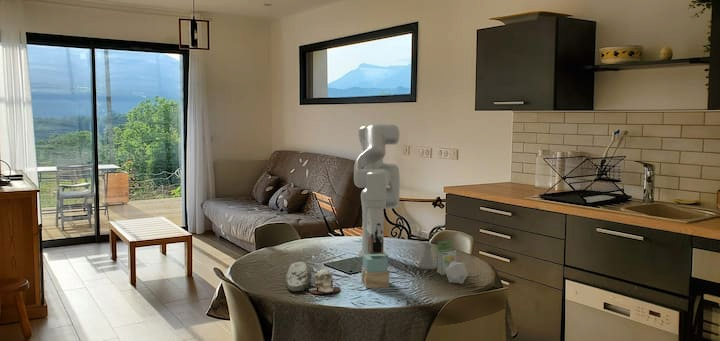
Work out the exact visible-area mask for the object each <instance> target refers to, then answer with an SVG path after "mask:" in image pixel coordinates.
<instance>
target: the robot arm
mask: <svg viewBox="0 0 720 341" xmlns="http://www.w3.org/2000/svg"><path fill="white" fill-rule="evenodd" d="M400 137H401V136H400V130H399V127H398V126H397V125H396V124H387V123H384V124H383V123H376V124H375V123H374V124H367V125H362V126H360V128H359V129H358V139H359V142H360V145H361V148H362V150H363V152H361V154H359V156H358V157H356V160H354V161H355V162H354V166H353V182H354V185H355V186H356V187H357V188H359V189H361V188H362V190H361V192H360V202H361V210H362V211H361V212H362V214H361V215H362V221H361V222H362V230H361V232H362V234H361V235H362V236H361V237H362V240H361V242H362V244H361V246H362V248H361V250H362V251H359V252H358V256H359V257H360V258H362V259H363V254H370V253H369V252H368V236H374V242H373V252H374V253H379V252H381V236H382V237H383V238H384V230H385V222H384V221H385V216H384V215H385V214H384V209H396V208H398V206H399V205H400V168H399V167H398V165H397V164H395V163H384V158H385V156H386V145H388V146H392V145H395V146H396V145H398V143H399V142H400ZM388 186H389V187H388ZM383 254H384V255H385V256H386V257H387V253H386V251H384V250H383Z"/></svg>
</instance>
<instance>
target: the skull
mask: <svg viewBox="0 0 720 341" xmlns="http://www.w3.org/2000/svg"><path fill="white" fill-rule="evenodd" d="M332 276H333V275H332V274H331V273H330V271H329V270H327V269H320V270H318V271H317V272H316V273H315V274H314V277H313V281H314V288H315V287H316V288H317V290H313V291H310V292H309V293H311V294H317V295H319V294H320V295H327V294H335V293H338V292H340V291H341V288H340V287H339V286H337V285H336V286H334V283H333V282H334V278H333V277H332ZM333 286H334V287H333Z"/></svg>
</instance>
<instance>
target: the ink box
mask: <svg viewBox="0 0 720 341" xmlns="http://www.w3.org/2000/svg"><path fill="white" fill-rule="evenodd" d="M443 244H447V245H443ZM451 245H452V240H451V239H449V240H441V241H437V251H436V252H437V253H436V254H437V256H436V257H437V258H436V264H437V265H436V273H437V274H438V275H440V276H447V275H446V272H445V270H446V269H447V267H448V266H449V264H450V263H451V262H457V250H456V249H454V248H452V247H451Z"/></svg>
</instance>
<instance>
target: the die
mask: <svg viewBox="0 0 720 341" xmlns="http://www.w3.org/2000/svg"><path fill="white" fill-rule="evenodd" d="M445 272H446V275H445V276H446V277H447V280H448V282H449V283H450V284H459V285H463V283H464V282H465V280H466V279H467V277H468V275H469V273H468V270H467V267H466V265H465V263H464V262H459V261H456V262H451V263H450V264H449V266H448V267H447V269H446V270H445Z"/></svg>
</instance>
